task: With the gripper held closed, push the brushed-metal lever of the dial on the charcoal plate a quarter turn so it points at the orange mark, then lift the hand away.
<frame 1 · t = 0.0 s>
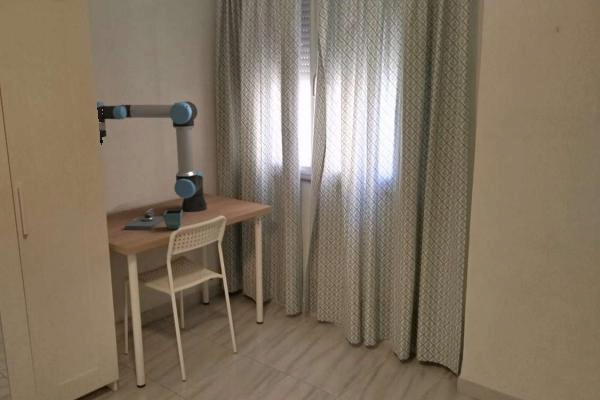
hand: (102, 166, 292), 28 cm above the table, tool pointing down, fingers open, 13 cm apart
flower pot: (174, 228, 268), on the table
dial lever: (149, 214, 278), point 4 cm above the table, hinge at 0.0°
dial plate: (144, 224, 274), on the table
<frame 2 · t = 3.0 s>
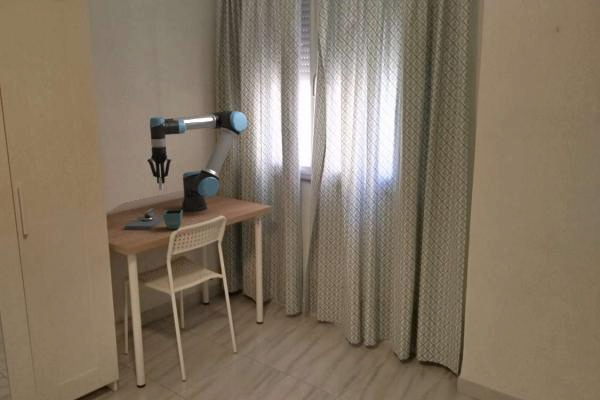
hand: (161, 189, 277), 18 cm above the table, tool pointing down, fingers closed
nothing on the table moved.
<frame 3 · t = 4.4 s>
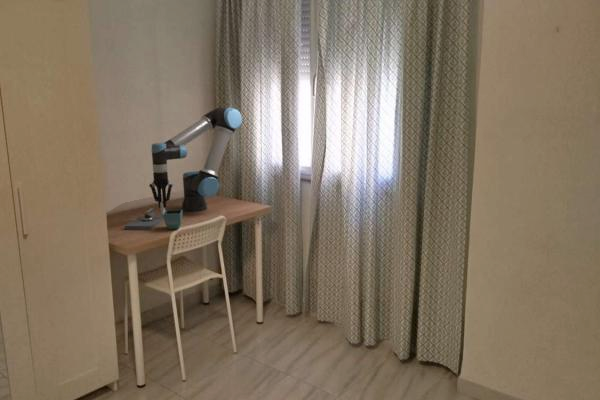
hand: (163, 213, 280), 4 cm above the table, tool pointing down, fingers closed
nothing on the table moved.
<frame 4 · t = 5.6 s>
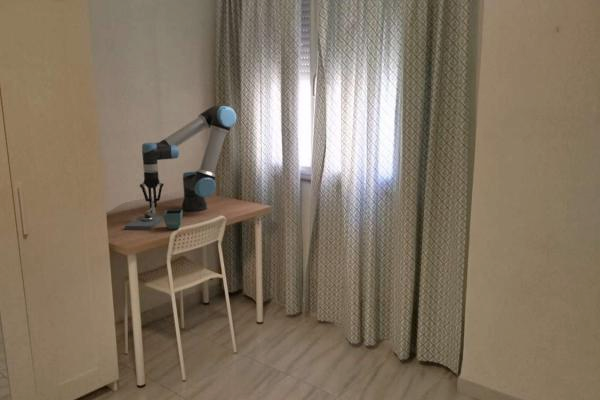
hand: (153, 213, 280), 5 cm above the table, tool pointing down, fingers closed
dial lever: (149, 214, 278), point 4 cm above the table, hinge at 0.0°, touching gripper
everything else where it was.
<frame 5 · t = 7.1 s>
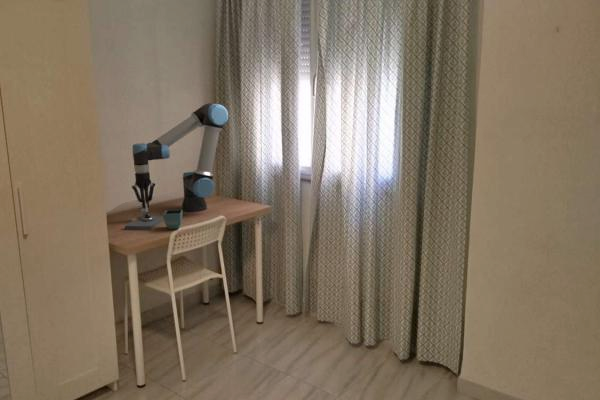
hand: (146, 213, 280), 4 cm above the table, tool pointing down, fingers closed
dial lever: (145, 214, 277), point 4 cm above the table, hinge at 37.3°, touching gripper
everything else where it was.
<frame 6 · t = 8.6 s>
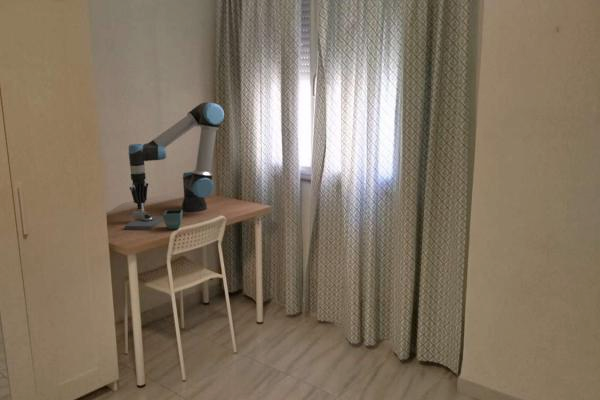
hand: (141, 214, 279), 4 cm above the table, tool pointing down, fingers closed
dial lever: (142, 215, 276), point 4 cm above the table, hinge at 77.9°
everything else where it was.
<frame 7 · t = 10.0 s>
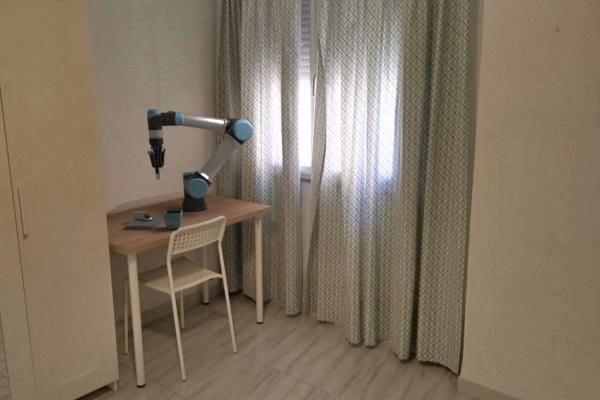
hand: (159, 179, 285), 22 cm above the table, tool pointing down, fingers closed
nothing on the table moved.
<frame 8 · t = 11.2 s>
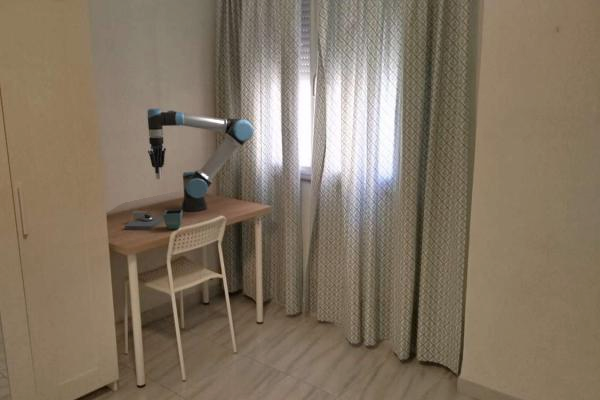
hand: (158, 178, 285), 22 cm above the table, tool pointing down, fingers closed
nothing on the table moved.
at the end: dial lever at +78° (first picture: +0°); flower pot moved 0.2 cm from its start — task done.
